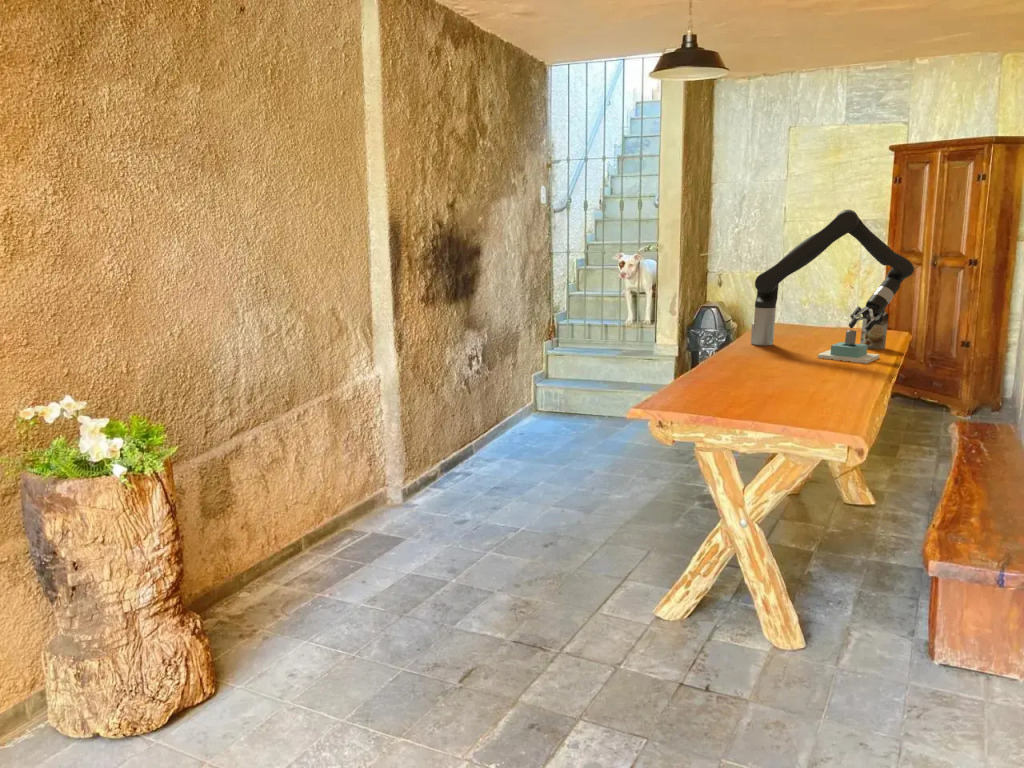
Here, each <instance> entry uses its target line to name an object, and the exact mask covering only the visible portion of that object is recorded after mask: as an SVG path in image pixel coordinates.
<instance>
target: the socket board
mask: <svg viewBox="0 0 1024 768" xmlns="http://www.w3.org/2000/svg"><path fill="white" fill-rule="evenodd" d="M867 346H868V345H865V344H860V343H855V346H854V347H853V346H845V341H839V342H837V343H834V344H831V345H830V349H828V350H826V351H823V352H820V353H818V354H817V359H823V358H824V360H831V359H833V360H832V361H840V360H842V361H841V362H848V361H850V363H858V364H865V365H866V364H867V365H868V364H869V363H873V361H876V360H878V359H880V354H877V353H868V349H867Z"/></svg>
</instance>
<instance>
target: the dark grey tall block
mask: <svg viewBox="0 0 1024 768" xmlns="http://www.w3.org/2000/svg"><path fill="white" fill-rule="evenodd" d="M844 337H845V338H844V342H845V346H853V347H854V346H855V344H856V339H857V330H854V329H853V330H852V329H851V330H850V329H846V330H845V336H844Z"/></svg>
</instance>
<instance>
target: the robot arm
mask: <svg viewBox="0 0 1024 768" xmlns="http://www.w3.org/2000/svg"><path fill="white" fill-rule="evenodd" d="M847 234H849V235H850V236H851V237H853V238H854V239H855V240H857V241H858V243H860V244H861V246H862V247H863V248H864V249H866V251H867V252H868V254H870V256H872V257H873V258H874V259H875V260H876V261H877V262H878V263H879V264H881V265H882V266H884V267H885V266H890V267H891V269H890V270H889V271H888V272H887V275H886V276H885V278H884V279H883V281H882V282H881V284H880V285H879V286H878V288H876V289H875V290H874V292H873V293H872V295H871V296H870V297H869V298H868V300H867V301H866V303H865V306H864V307H860V306H856V308H855V310H854V311H852V313H851V314H850V318H851V321H850V322H849V323H848V327H849V328H850V329H853V328H854V327H855V325H857V323H858V322H859V321H863V319H871V321H870V322H869V323H868V325H867V326H866V327H865V329H866V330H867V331H869V330H871V329H872V327H873V326H874V325H876V324H881V322H882V321H883V319H884V318H885V316H886V315H887V314H886V313H887V312H886V310H885V309H886V308H887V306H888V305H889V304H890V303H891V302H892V300H893V298H894V296H895V295H896V294H897V293H898V291H899V290H900V287H901V283H902V282H904V280H905V279H908V278H909V277H911V276H912V275H913V274H914V272H915V268H914V267H915V266H914V264H913V262H911V261H910V260H909V259H907V258H906V257H904V256H903V255H901V254H899V253H897V252H895V250H893V249H892V248H891V247H890V246H888V244H887V243H885V242H884V241H883V240H881V238H879V237H878V236H877V235H875V233H873V232H872V231H871V230H870V229H869V228H868V227H867V226H866V225H865V224H864V222H863V221H862V220H861V219H860V217H859V216H858V214H857V213H856V212H855V211H854V210H852V209H843V210H842V211H839V213H837V215H836V216H835V218H834V219H833V220H831V222H829V223H828V224H827V225H826V226H825V227H823V228H822V229H821V230H819V231H817V232H816V233H813V234H812V235H811V236H809V237H808V238H806V239H805V240H803V241H802V242H800V243H799V244H797V246H795V247H794V248H793V249H792V250H790V251H789V252H788V253H787V254H786V255H785V256H783V258H781V260H779V261H778V262H777V263H776V264H774V265H773V266H771V267H770V268H768V269H767V270H764V272H762V273H760V274H759V275H758V276H756V278H755V281H754V288H755V289H756V290H757V291H756V297H755V303H754V314H753V316H754V317H753V322H752V324H751V335H750V344H751V345H755V346H772V345H774V340H775V323H776V308H777V302H778V296H779V295H778V294H779V285H780V283H781V282H782V281H784V280H785V279H786V278H788V276H791V275H792V274H794V273H796V272H797V271H799V270H801V269H802V268H804V267H806V266H807V265H808V264H810V263H811V262H812V261H814V260H815V259H817V258H818V257H819V256H820V255H821V254H823V252H825V251H826V250H827V248H828V247H830V246H831V245H832V244H833V243H835V242H836V241H838V240H839V239H840V238H842V237H844V236H845V235H847ZM877 316H878V317H877ZM876 317H877V318H876ZM879 319H880V320H879Z"/></svg>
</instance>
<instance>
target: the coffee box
mask: <svg viewBox="0 0 1024 768" xmlns="http://www.w3.org/2000/svg"><path fill="white" fill-rule="evenodd" d="M886 314H887V315H886V316H885V318H884V319H883V321H882V322H881V324H876V325H874V326H873V327H872V329H871V330H869V331H867V330H866V329H865V327H866V326H867V325H868V323H869V322H870V321H871V319H863V320H862V322H861V323H862V325H861V333H860V341H859V342H860V343H859V344H865V345H868V346H867V350H885V349H886V341H887V332H888V324H889V313H888V312H886ZM877 317H878V316H877ZM877 317H876V318H877ZM879 320H880V319H879Z"/></svg>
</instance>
